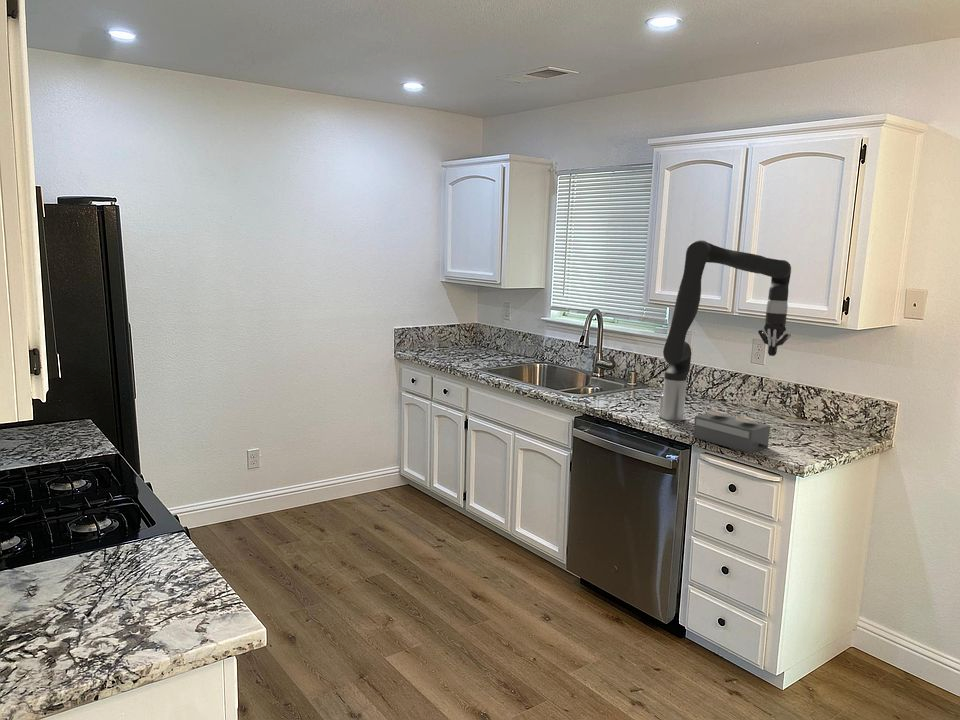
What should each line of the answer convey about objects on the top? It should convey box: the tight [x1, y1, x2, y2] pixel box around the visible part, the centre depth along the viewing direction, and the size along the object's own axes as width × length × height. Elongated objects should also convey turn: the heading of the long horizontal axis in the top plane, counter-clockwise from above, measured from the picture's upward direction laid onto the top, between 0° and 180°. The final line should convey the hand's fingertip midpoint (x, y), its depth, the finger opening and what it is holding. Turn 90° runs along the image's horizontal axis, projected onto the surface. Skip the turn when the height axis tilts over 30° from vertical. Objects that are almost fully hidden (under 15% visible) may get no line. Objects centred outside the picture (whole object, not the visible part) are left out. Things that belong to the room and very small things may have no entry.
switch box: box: [692, 412, 771, 454], centre depth 269 cm, size 27×12×8 cm, turn 39°
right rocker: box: [735, 416, 759, 424], centre depth 264 cm, size 5×7×1 cm
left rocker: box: [706, 409, 730, 417], centre depth 274 cm, size 5×7×1 cm
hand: (772, 355), depth 282 cm, fingers closed
